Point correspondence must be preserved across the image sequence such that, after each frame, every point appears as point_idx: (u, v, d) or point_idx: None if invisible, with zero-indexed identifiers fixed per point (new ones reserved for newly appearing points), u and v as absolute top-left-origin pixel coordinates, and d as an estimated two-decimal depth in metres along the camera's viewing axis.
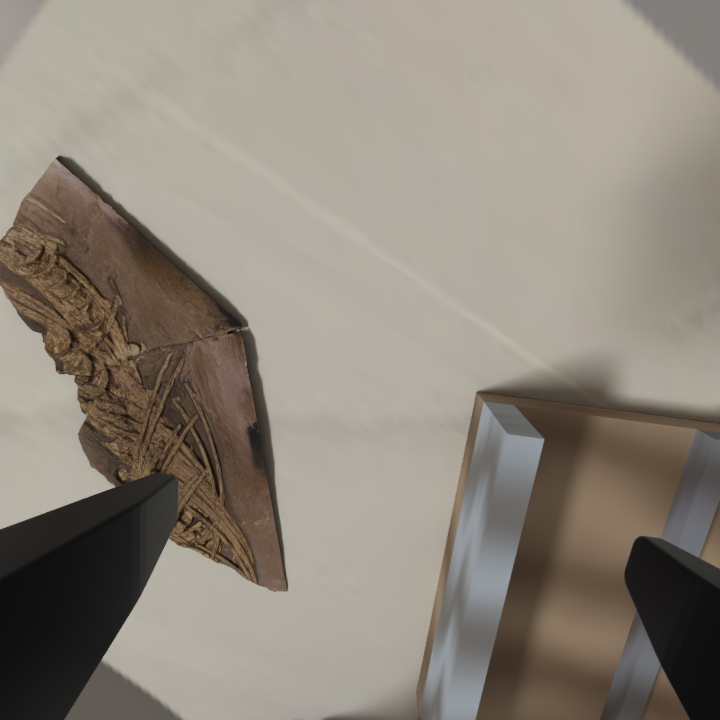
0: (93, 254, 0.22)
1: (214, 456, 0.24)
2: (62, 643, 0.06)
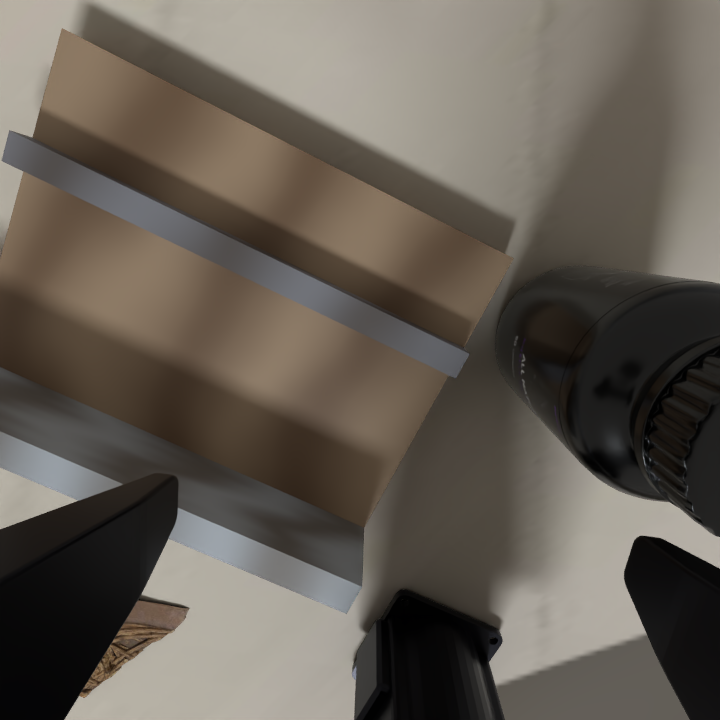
0: None
1: None
2: (62, 643, 0.06)
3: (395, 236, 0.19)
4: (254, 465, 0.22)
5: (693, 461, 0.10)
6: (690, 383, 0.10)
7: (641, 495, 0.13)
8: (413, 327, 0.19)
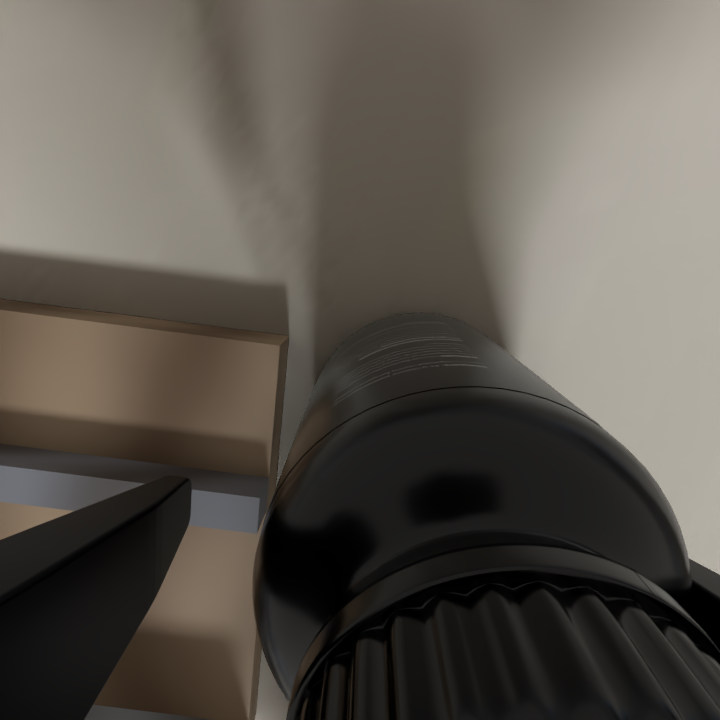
0: None
1: None
2: (82, 645, 0.06)
3: (114, 369, 0.13)
4: None
5: None
6: None
7: None
8: None
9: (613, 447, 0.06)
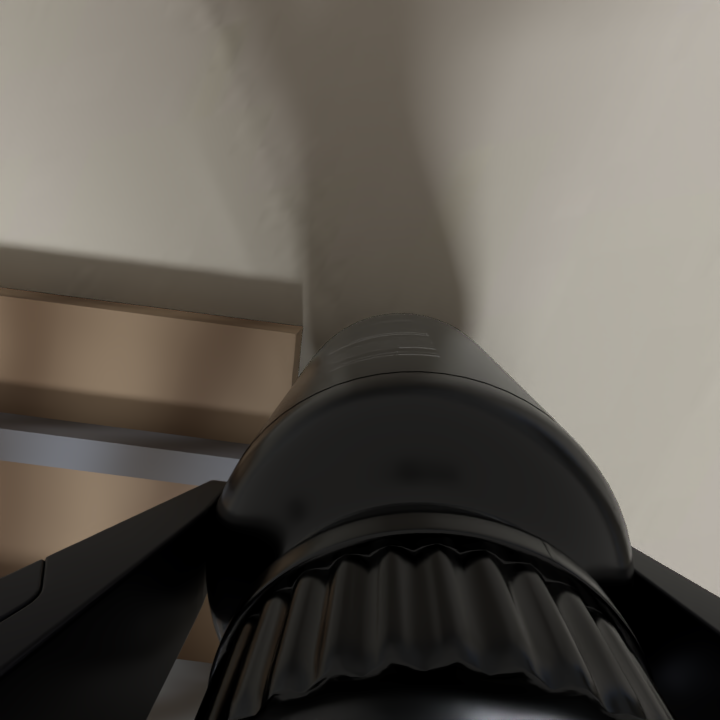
0: None
1: None
2: (143, 653, 0.06)
3: (153, 353, 0.16)
4: None
5: None
6: None
7: None
8: (202, 455, 0.15)
9: (547, 429, 0.06)
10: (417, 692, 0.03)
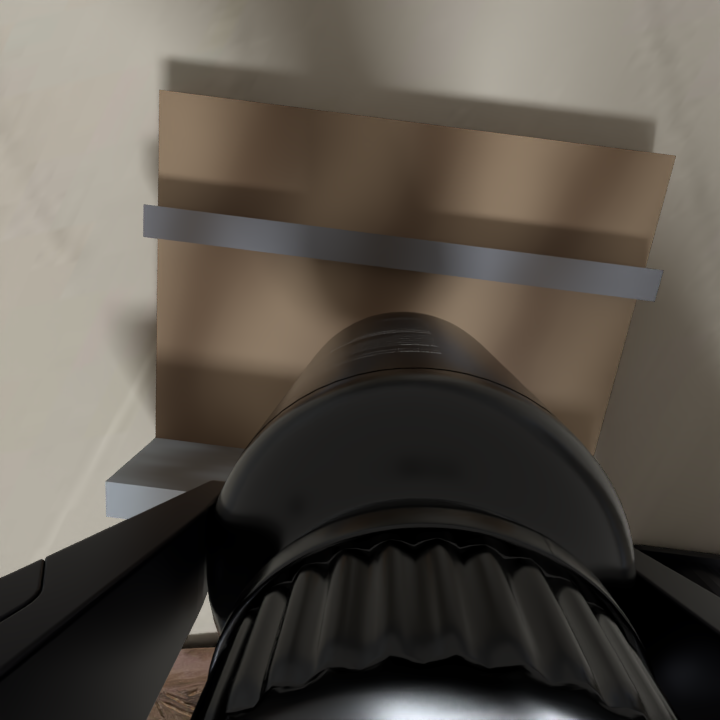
0: None
1: None
2: (143, 654, 0.06)
3: (542, 177, 0.18)
4: None
5: None
6: None
7: None
8: (595, 262, 0.17)
9: (548, 425, 0.06)
10: (414, 687, 0.03)
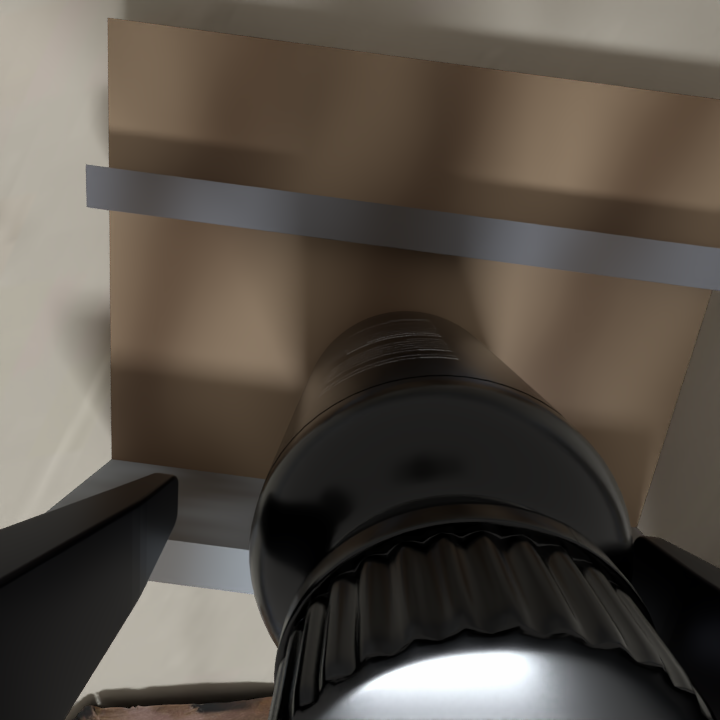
0: None
1: None
2: (62, 643, 0.06)
3: (598, 133, 0.14)
4: None
5: None
6: None
7: None
8: (667, 242, 0.13)
9: (561, 427, 0.07)
10: (485, 650, 0.04)
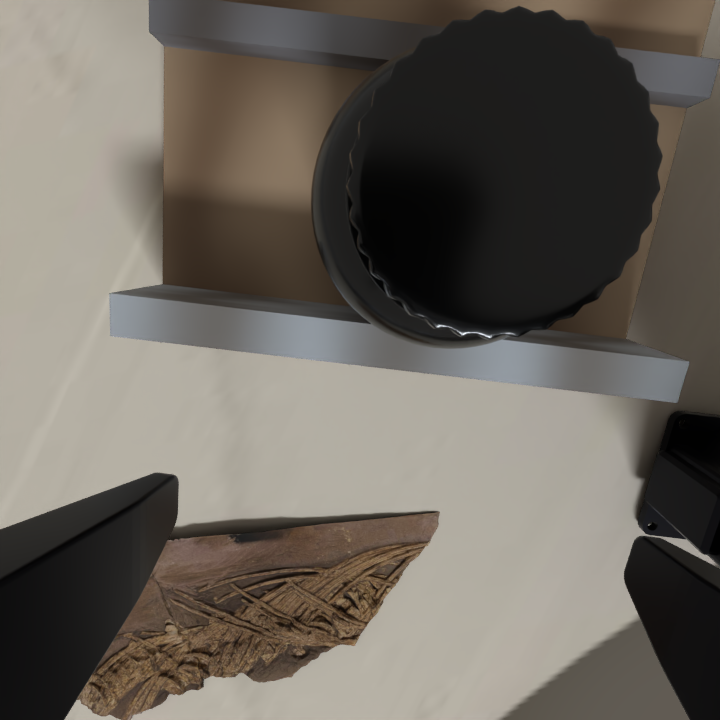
0: None
1: (273, 573, 0.24)
2: (62, 643, 0.06)
3: None
4: None
5: (373, 243, 0.07)
6: None
7: (452, 341, 0.10)
8: (645, 51, 0.16)
9: None
10: (498, 23, 0.06)
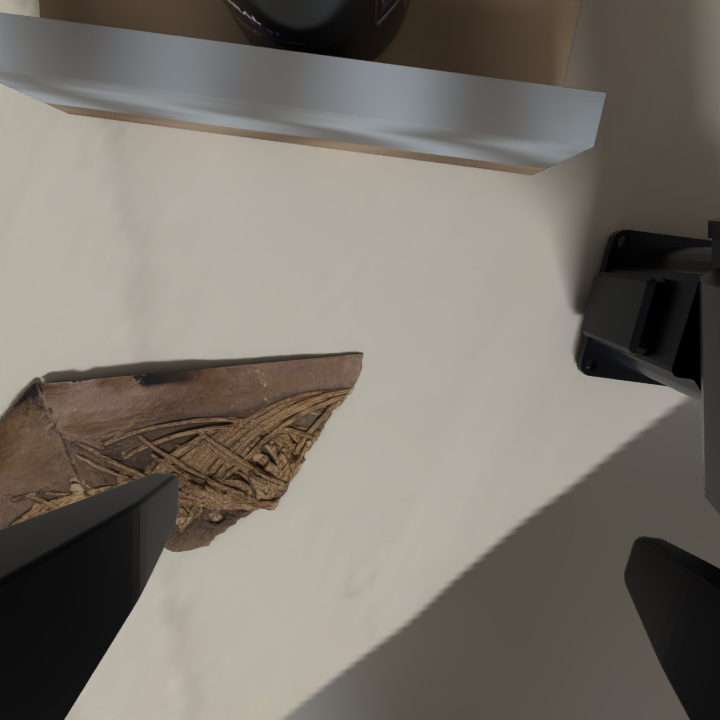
0: None
1: (183, 423, 0.22)
2: (62, 643, 0.06)
3: None
4: None
5: None
6: None
7: None
8: None
9: None
10: None
